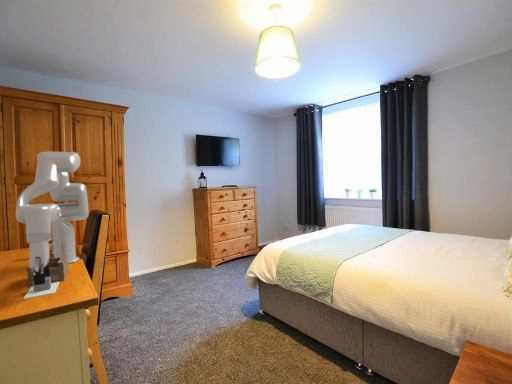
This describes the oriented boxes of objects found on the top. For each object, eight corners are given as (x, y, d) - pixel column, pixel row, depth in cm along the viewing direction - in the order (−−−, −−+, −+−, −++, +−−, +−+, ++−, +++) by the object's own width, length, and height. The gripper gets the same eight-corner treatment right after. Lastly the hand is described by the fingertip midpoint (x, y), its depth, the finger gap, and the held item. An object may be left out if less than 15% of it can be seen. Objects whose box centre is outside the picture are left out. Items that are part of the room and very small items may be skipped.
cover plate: (31, 289, 108) (30, 277, 108) (59, 284, 112) (58, 272, 112) (23, 300, 97) (22, 287, 96) (54, 294, 101) (53, 281, 101)
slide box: (35, 276, 121) (34, 259, 121) (67, 271, 127) (66, 255, 127) (28, 286, 109) (27, 267, 108) (64, 280, 115) (63, 262, 114)
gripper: (32, 234, 109) (34, 275, 110) (21, 242, 94) (24, 290, 95) (54, 232, 113) (57, 272, 114) (47, 239, 98) (50, 285, 99)
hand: (42, 280), depth 104 cm, fingers open, 9 cm apart
